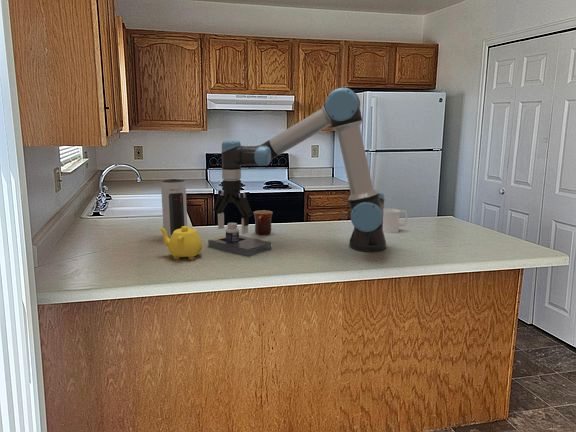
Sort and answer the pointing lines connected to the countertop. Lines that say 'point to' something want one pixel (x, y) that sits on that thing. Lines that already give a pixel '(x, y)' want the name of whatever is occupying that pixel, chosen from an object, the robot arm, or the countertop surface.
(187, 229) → the teapot
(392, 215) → the cup
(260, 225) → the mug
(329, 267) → the countertop surface
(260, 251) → the grey flat block
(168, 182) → the speaker
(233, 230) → the pill bottle
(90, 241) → the countertop surface
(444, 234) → the countertop surface
